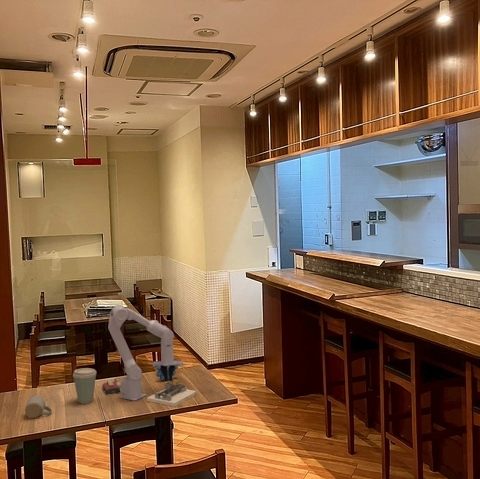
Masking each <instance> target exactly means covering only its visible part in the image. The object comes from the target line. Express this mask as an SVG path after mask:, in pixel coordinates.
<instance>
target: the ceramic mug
mask: <svg viewBox="0 0 480 479" xmlns="http://www.w3.org/2000/svg"><path fill="white" fill-rule="evenodd" d="M44 410H45V411H44ZM52 412H53V409H52V408H51V407H49V406H48V405H46V401H45V399H44V397H42V396H40V395H32V396H31V397H29V398H28V399H27V402H26V405H25V408H24V413H25V415H26V417H27V418H30V419H36V418H39V417H40V416H41V415H43V416H51V414H52Z"/></svg>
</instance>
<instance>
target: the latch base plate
mask: <svg viewBox="0 0 480 479" xmlns="http://www.w3.org/2000/svg"><path fill="white" fill-rule="evenodd" d="M164 384H165V388H164V389H162V390H160V391H156V392H154V394H152V395H150V396H147V398H146V402H151V403H155V404H159V405H166V406H169V407H170V406H171V407H176V406H178V405H180V404H182V403H183V402H185V401H187V400H189V399H191V398H192V397H194V396H196V395H197V393H198V392H197V390H193V389H187V387H186V386H185V387H184V388H182V389H180V390H178V391H176V392H174V393H172V394H167V395H166V397H164V396H159V393H161V392H163V391H165V390H167V389H169V388H171V387H173V386H175V384H169V381H168V382H167V381H166V383H164Z"/></svg>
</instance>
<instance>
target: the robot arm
mask: <svg viewBox="0 0 480 479" xmlns="http://www.w3.org/2000/svg"><path fill="white" fill-rule="evenodd" d="M126 320H127V321H132V320H133V321H135V322H136V323H139V324H140V325H142V326H144V327H146V331H147V332H149V333H151V334H152V335H154V336H156V337H158V338H160V349H161V350H160V352H161V354H160V355H161V360H162V361H161V360H159V361H153V362H152V367H154V368H155V367H157V366H161V368H160V370H161V371H162V373H163V375H164V378H165V379H164V381H165V382H167V381H168V382H169V381H170V380H172V379H173V372H174V369H175V367H176V366H178V367H180V368H181V367H183V366H184V362H183V361H181V360H176V361H174V359H175V358H174V343H173V342H174V341H173V340H174V337H175V334H174V332H173V331H172V330H171V329H170V328H168V326H166V325H163V324H161V323H159V322H160V321H158V320H156V319H155V320H153V319H151V320H149V319H147V318H145V317H144V316H143V315H141V314H139V313H137V312H136V311H134V310H133V309H130V308H128V307H124V306H123V305H121V304H117V305H114V306H113V307H112V309H111V311H110V312H109V319H108V325H107V326H108V327H107V328H108V331H109V333H110V336H111V338H112V340H113V341H114V344H115V346H116V348H117V351H118V353H119V355H120V358H121V360H122V361H123V365H124V372H125V373H126V376H124V377H123V378H122V379H121V382H120V384H121V388H120V393H121V395H120V396H119V397H120V398H121V399H125V400H130V401H138V400H139V399H142V398H144V397H146V396H147V394H145V393H143V386H142V376H143V375H142V374H143V371H142V369H141V368H140V367H139V366H138V364H137V363H136V361H135V359H134V357H133V355H132V353H131V350H130V348H129V346H128V344H127V341H126V340H125V338H124V335H123V333H122V330H121V327H122V325H123V323H124V322H126ZM167 366H170V367H169V368H168V369H169V380H168V376H167Z"/></svg>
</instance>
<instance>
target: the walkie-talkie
mask: <svg viewBox="0 0 480 479" xmlns="http://www.w3.org/2000/svg"><path fill="white" fill-rule="evenodd" d="M113 380H114V381H113ZM113 380H112V379H110V380H107V381H106V382H103V383H102V385H101V387H102V390H103V389H104V390H103V392H104V391H105V392H104V393H106V394H107V395H106V394H105V395H106V396H108V394H110V395H115V393H116V394H119V393H121V382H120V381H118V380H117V379H116V378H114V379H113Z"/></svg>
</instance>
